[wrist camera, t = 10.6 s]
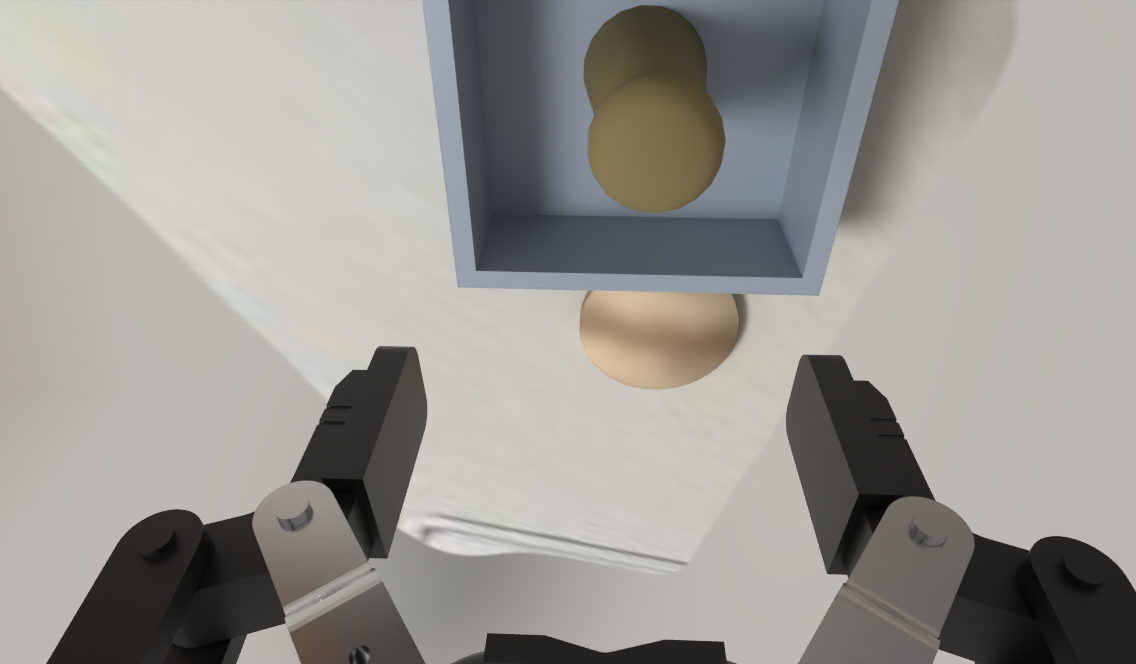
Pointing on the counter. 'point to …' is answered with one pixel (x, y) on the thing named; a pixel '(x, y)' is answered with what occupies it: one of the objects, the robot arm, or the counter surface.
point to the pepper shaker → (651, 111)
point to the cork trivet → (657, 335)
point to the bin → (560, 142)
